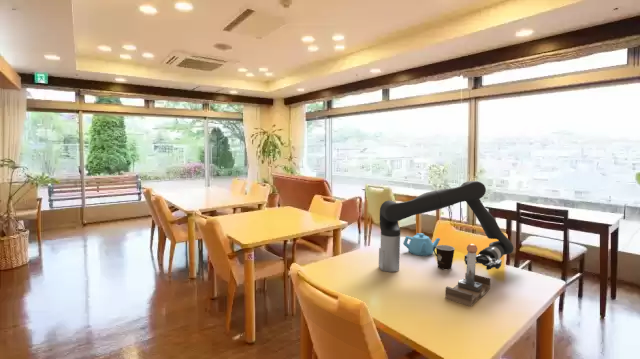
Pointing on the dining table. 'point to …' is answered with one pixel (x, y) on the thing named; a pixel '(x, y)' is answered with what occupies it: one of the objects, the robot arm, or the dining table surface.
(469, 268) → the handle
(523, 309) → the dining table surface
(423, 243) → the teapot
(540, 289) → the dining table surface
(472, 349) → the dining table surface
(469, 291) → the base
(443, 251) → the coffee mug
